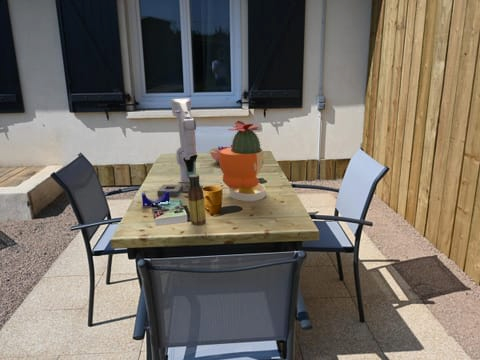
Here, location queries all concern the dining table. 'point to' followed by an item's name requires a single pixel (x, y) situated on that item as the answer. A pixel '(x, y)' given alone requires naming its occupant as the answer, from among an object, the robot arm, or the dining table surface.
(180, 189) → the socket block
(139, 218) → the dining table surface
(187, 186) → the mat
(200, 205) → the sauce bottle
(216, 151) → the cell model
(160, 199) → the cable clip
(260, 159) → the potted cactus
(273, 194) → the dining table surface
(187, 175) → the plug
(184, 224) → the dining table surface
